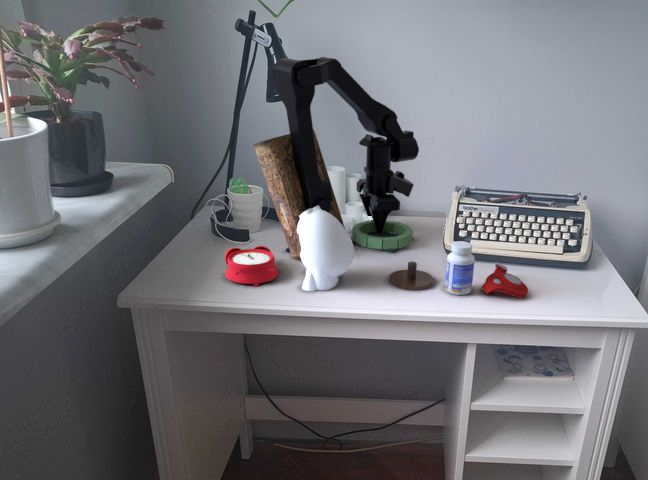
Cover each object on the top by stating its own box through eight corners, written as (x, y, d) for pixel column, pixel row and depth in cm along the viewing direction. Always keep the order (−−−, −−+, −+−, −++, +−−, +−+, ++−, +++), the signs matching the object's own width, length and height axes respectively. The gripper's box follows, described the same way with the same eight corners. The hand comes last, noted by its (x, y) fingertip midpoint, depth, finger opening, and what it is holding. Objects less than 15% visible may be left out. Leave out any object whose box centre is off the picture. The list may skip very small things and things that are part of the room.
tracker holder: (540, 290, 127) (505, 288, 121) (529, 308, 129) (495, 307, 123) (505, 257, 134) (470, 254, 128) (495, 275, 136) (461, 272, 130)
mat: (351, 244, 148) (351, 241, 148) (373, 231, 157) (373, 229, 157) (393, 253, 144) (393, 250, 144) (413, 239, 153) (413, 237, 153)
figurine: (353, 270, 134) (354, 200, 127) (353, 292, 124) (354, 218, 117) (300, 268, 133) (298, 198, 126) (296, 290, 123) (293, 216, 116)
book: (308, 256, 136) (269, 139, 128) (289, 260, 139) (249, 145, 131) (347, 235, 149) (313, 127, 141) (328, 239, 152) (294, 133, 144)
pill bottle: (476, 291, 128) (482, 245, 123) (459, 298, 124) (464, 251, 120) (456, 282, 131) (460, 237, 126) (439, 289, 128) (442, 243, 123)
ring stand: (381, 283, 128) (381, 265, 127) (401, 269, 136) (402, 252, 134) (422, 293, 125) (423, 275, 123) (440, 278, 132) (441, 260, 131)
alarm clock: (228, 272, 120) (218, 231, 130) (229, 298, 124) (220, 256, 135) (282, 268, 123) (269, 228, 134) (282, 293, 128) (269, 252, 138)
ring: (340, 241, 148) (340, 231, 146) (371, 225, 159) (371, 216, 158) (394, 254, 142) (394, 243, 141) (422, 236, 153) (423, 227, 152)
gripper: (423, 173, 142) (418, 240, 150) (400, 155, 158) (396, 216, 165) (375, 174, 139) (373, 242, 147) (356, 155, 155) (355, 217, 162)
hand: (376, 228), depth 155 cm, fingers open, 6 cm apart
